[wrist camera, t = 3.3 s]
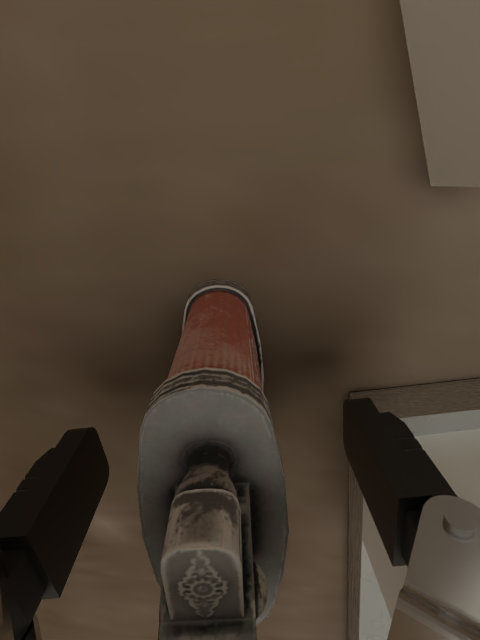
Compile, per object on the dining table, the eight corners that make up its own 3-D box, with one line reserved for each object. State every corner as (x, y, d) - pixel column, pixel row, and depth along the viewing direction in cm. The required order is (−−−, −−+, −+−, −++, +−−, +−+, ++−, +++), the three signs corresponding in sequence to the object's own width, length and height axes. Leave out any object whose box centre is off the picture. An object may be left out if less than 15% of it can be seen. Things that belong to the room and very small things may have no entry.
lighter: (174, 281, 13) (36, 520, 4) (260, 277, 13) (329, 506, 4) (193, 442, 16) (141, 789, 7) (263, 439, 16) (303, 780, 7)
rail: (347, 693, 26) (356, 733, 24) (349, 392, 15) (365, 421, 13) (438, 685, 26) (454, 724, 24) (505, 375, 15) (543, 402, 13)
